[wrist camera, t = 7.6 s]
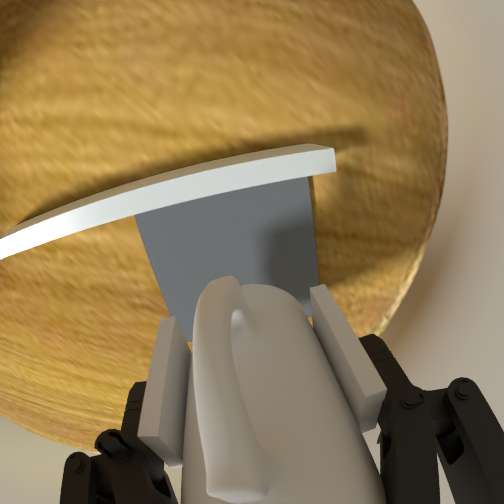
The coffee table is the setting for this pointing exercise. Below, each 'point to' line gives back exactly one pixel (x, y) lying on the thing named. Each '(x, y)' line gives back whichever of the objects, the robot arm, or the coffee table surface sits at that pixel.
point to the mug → (267, 408)
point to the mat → (233, 244)
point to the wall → (170, 191)
